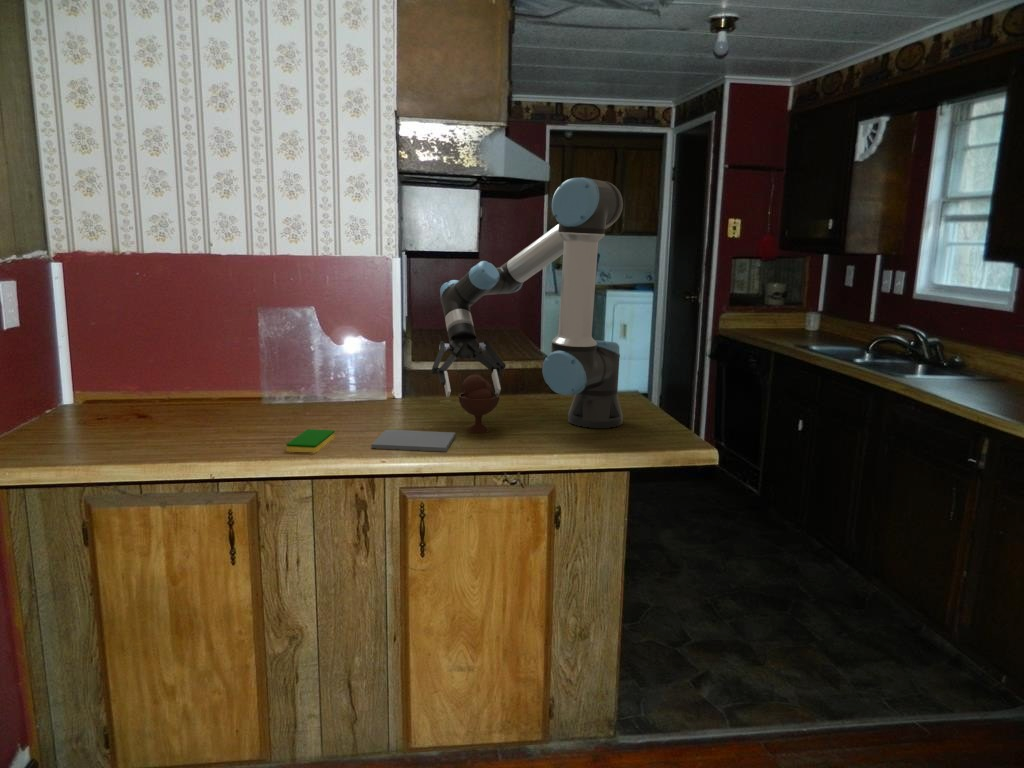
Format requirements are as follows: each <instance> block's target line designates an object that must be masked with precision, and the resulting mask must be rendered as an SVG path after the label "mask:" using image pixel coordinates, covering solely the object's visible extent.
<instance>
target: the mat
mask: <svg viewBox="0 0 1024 768" xmlns="http://www.w3.org/2000/svg"><path fill="white" fill-rule="evenodd" d="M455 437H456V432H454V431H453V432H452V431H449V432H447V431H429V430H428V431H426V430H425V431H423V430H407V429H406V430H403V429H399V430H398V429H385V430H384V431H383V432H382V433H381V434H380V435H379V436H378V437H377V438H376V439H375V440H374V441H373V442H372V443H371V445H370V448H371V449H373V448H376V449H377V450H395V449H399V451H418V450H419V451H420V452H421V451H423V452H444V453H445V452H447V451H448V449H449V447H450V445H452V442H453V441H454V439H455ZM376 449H375V450H376ZM419 451H418V452H419Z"/></svg>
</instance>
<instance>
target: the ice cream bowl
mask: <svg viewBox="0 0 1024 768" xmlns="http://www.w3.org/2000/svg"><path fill="white" fill-rule="evenodd" d="M461 386H462V388H463V392H460V393H458V394H457V395H458V401H459V404H460V406H461V407H462V409H463V410H464V411H465V412H467V414H470V415H472V416H474V424H472V425H470V426H469V427H468V429H467V431H468V432H469V431H470V432H469V433H472V432H475V434H482V432H485V433H488V432H489V428H488V427H487V426H486V425H484V424H483V422H482V420H483V416H484V415H488V414H489V413H491V412H493V410H494V409H496V407H497V406H498V404H499V401H500V393H499V394H497V393H496V392H494V388H493V387H494V385H493V384H491V383H490V382H489V381H487V380H486V379H485V378H484V377H483V376H481V375H479V374H471V375H468V376H467V377H466V378H465V379H464V380H463V382H462V385H461Z"/></svg>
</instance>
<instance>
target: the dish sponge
mask: <svg viewBox="0 0 1024 768" xmlns="http://www.w3.org/2000/svg"><path fill="white" fill-rule="evenodd" d="M335 431H336V430H333V429H331V430H330V429H329V430H328V429H306V430H304V431H303V432H301V433H300V434H298V435H297V436H295V437H294V438H293V439H292V440H290V441H289V442H287V443H286V447H285V448H286V452H287V451H289V452H288V453H294V452H313V453H312V454H316V453H315V452H317V451H318V452H319V450H320V449H321V448H322V447H323V448H325V447H326V446H327V445H328V444H329V442H330V441H331V440H332V441H333V440H335V439H334V438H336V437H335V436H336V435H335V434H336V433H335ZM332 441H331V442H332ZM331 442H330V443H331ZM327 443H328V444H327ZM326 444H327V445H326ZM325 445H326V446H325ZM324 446H325V447H324ZM323 448H322V449H323ZM322 449H321V450H322ZM321 450H320V451H321ZM290 451H292V452H290ZM318 452H317V453H318Z"/></svg>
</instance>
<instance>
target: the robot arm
mask: <svg viewBox="0 0 1024 768" xmlns="http://www.w3.org/2000/svg"><path fill="white" fill-rule="evenodd" d="M623 206H624V202H623V196H622V193H621V192H620V190H619V188H617V187H616V186H615V185H614V184H613V183H611V182H610V181H606V180H600V179H594V178H590V177H572V178H569V179H566V180H565V181H563V182H562V183H561V184H560V185H559V186H558V187H557V189H556V190H555V191H554V194H553V196H552V199H551V212H552V215H553V217H555V220H556V222H558V224H556V225H555V226H553V227H552V228H551V229H549V230H548V231H547V232H545V233H544V234H542V235H541V236H540V237H539V238H537V239H536V240H534V241H533V242H532V243H530V244H529V245H528V246H526V247H525V248H523V249H522V250H520V251H519V252H518V253H516V255H514V256H513V257H512V258H510V259H509V260H507V261H506V262H505V263H503V264H502V265H501V266H499V267H495V265H494V264H492V262H488V261H487V260H481V261H479V262H478V263H476V264H475V265H474V266H472V267H471V268H470V269H469V271H468V272H467V273H466V274H464V275H463V277H461V278H460V279H459V280H457V279H451V280H449V281H447V282H444V283H443V284H442V285H441V287H440V290H439V293H440V303H441V306H442V311H443V314H444V315H443V316H444V321H445V327H446V332H447V337H448V338H447V339H448V342H449V343H445V341H443V340H441V341H440V342H439V347H438V352H437V355H436V357H435V360H434V363H433V365H432V366H431V367H432V368H431V372H430V373H431V375H437V377H438V379H439V383H440V386H444V393H445V396H446V398H450V396H451V392H452V389H451V384H450V380H449V374H448V369H449V368H450V366H451V365H452V364H453V363H454V361H456V360H457V358H458V359H460V360H461V359H463V360H464V359H467V360H468V359H474V360H475V361H478V362H479V363H480V364H482V365H483V366H485V368H486V369H488V370H489V371H490V372H491V378H492V382H493V383H492V384H493V387H494V388H493V389H494V391H495V392H494V393H497V394H499V395H500V393H501V391H502V388H501V383H502V382H501V381H502V378H503V377H502V374H501V373H503V372H504V371H505V369H506V363H505V362H504V361H503V360H502V359H501V357H500V356H499V355H498V354H497V353H496V352H495V350H494V349H493V348H492V347H491V344H490V342H489V340H488V339H487V340H486V339H485V340H484V342H479V341H478V339H477V335H476V330H475V327H474V325H475V324H474V322H473V316H472V313H471V312H472V311H471V307H472V306H473V305H474V304H475V303H477V302H478V301H479V299H481V298H482V297H483V296H490V295H492V296H493V295H505V294H506V295H510V294H513V293H516V292H519V290H521V289H522V287H523V284H524V282H526V281H527V280H529V279H530V278H532V277H533V276H534V275H536V274H537V273H539V272H540V271H542V270H543V269H545V268H547V266H549V265H551V264H552V263H553V262H554V261H556V260H557V259H558V258H560V257H561V256H562V265H561V266H562V267H561V268H562V269H561V284H560V285H561V286H560V299H559V300H560V302H559V303H560V304H559V305H560V306H559V317H558V319H559V320H558V333H557V335H556V336H555V337H554V338H553V339H551V348H550V349H551V352H550V353H549V354H548V355H547V357H545V359H544V360H543V363H542V368H541V369H542V371H541V372H542V377H543V379H544V382H545V383H546V384H547V385H548V387H549V388H550V389H551V390H552V391H553V392H554V393H556V394H559V395H561V396H569V395H570V396H571V395H572V396H573V395H574V396H573V400H572V402H571V405H570V408H569V410H568V413H567V416H568V417H567V422H568V423H569V424H571V425H573V424H574V426H576V425H577V426H576V427H580V426H582V427H581V428H587V427H589V428H588V429H611V428H610V427H613V428H616V426H617V427H620V426H622V425H621V424H623V418H624V417H623V411H622V408H621V403H620V400H619V396H618V391H619V390H618V389H619V374H620V373H619V370H620V358H621V354H620V345H619V343H617V342H616V341H615V342H614V341H607V340H598V339H594V338H593V335H592V333H593V321H594V320H593V319H594V308H595V307H594V305H595V291H596V280H597V279H596V278H597V264H598V263H597V262H598V252H599V251H598V250H599V241H600V240H602V239H603V238H604V237H605V236H606V230H607V229H608V228H610V227H611V226H613V225H614V223H616V222H617V221H618V219H619V218H620V216H621V215H622V212H623ZM448 350H449V351H450V352H451V354H449V356H448V357H447V359H446V360H445V361H444V362H443V364H442V365H441V366H439V365H440V363H441V361H442V358H443V356H444V353H446V352H447V351H448ZM483 352H484V353H483ZM619 425H620V426H619Z"/></svg>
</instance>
